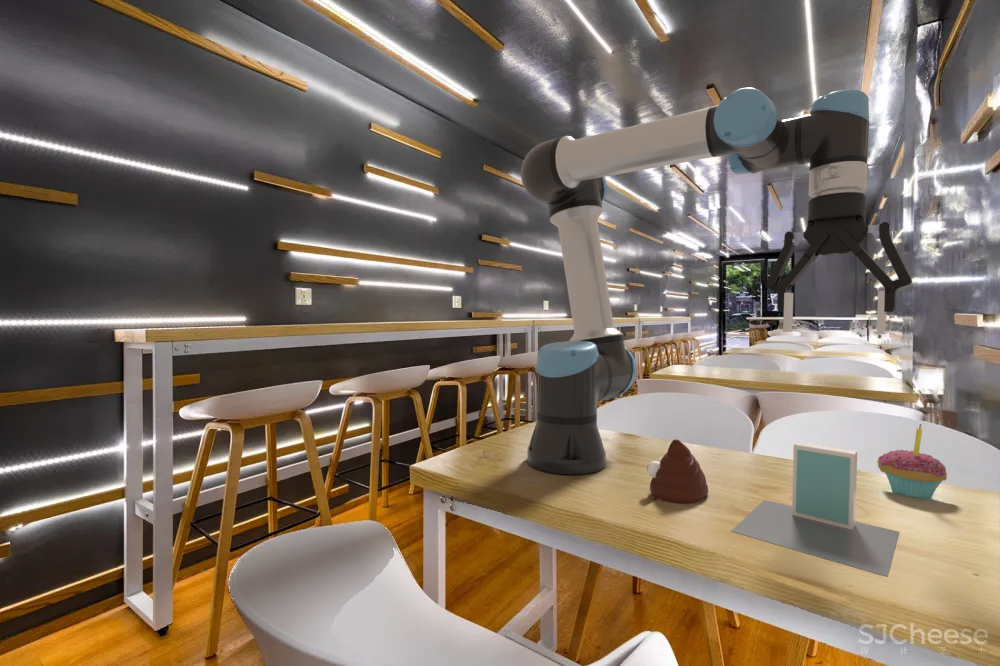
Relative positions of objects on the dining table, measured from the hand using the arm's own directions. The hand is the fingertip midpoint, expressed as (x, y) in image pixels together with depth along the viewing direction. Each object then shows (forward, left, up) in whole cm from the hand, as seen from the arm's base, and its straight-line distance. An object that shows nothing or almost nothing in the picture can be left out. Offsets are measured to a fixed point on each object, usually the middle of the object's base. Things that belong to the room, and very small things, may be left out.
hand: (831, 332), depth 78 cm
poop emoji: (-17, -18, -26) cm, 36 cm away
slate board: (+2, -19, -26) cm, 32 cm away
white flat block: (+2, -14, -25) cm, 29 cm away
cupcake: (+10, +8, -26) cm, 29 cm away
